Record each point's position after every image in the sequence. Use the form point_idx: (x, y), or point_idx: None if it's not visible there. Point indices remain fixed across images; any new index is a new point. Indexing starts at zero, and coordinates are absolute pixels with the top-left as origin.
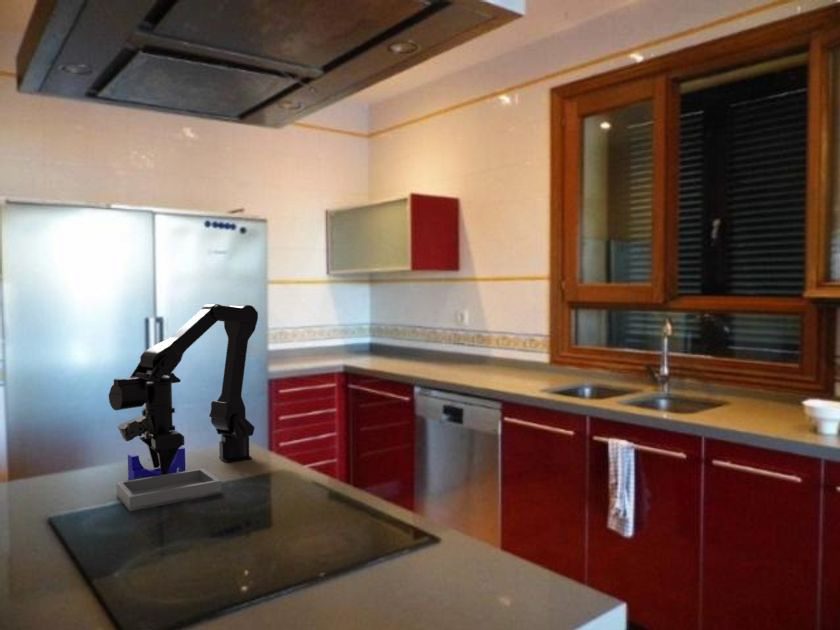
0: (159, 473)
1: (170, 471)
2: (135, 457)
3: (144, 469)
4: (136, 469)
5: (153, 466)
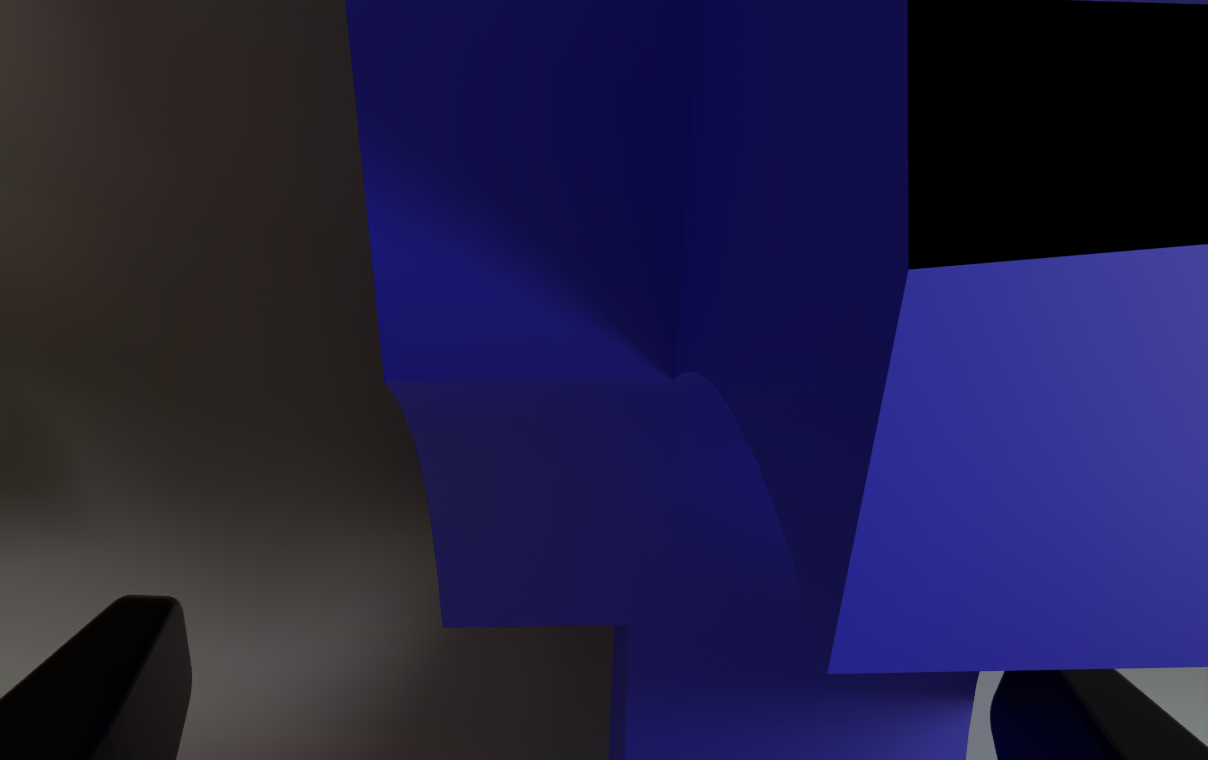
0: (443, 581)
1: None
2: (838, 354)
3: (400, 315)
4: (647, 42)
5: None
